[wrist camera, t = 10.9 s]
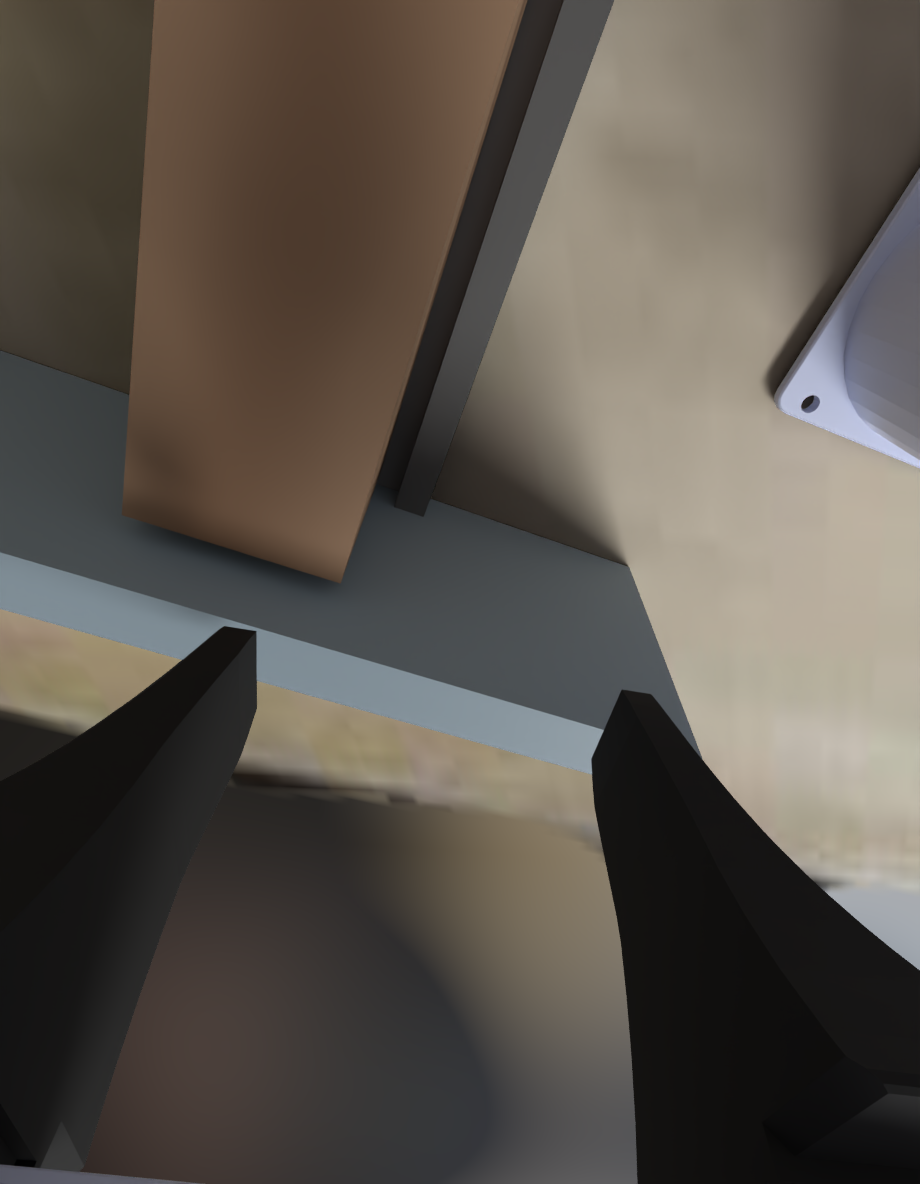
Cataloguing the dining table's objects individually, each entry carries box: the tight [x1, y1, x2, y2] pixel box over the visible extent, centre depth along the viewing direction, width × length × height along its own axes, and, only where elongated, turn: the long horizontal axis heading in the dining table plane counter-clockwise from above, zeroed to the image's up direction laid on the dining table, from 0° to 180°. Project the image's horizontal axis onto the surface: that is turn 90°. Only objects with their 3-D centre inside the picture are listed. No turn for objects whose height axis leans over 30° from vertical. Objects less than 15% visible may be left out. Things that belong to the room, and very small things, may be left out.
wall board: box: [0, 0, 702, 774], centre depth 13 cm, size 24×18×9 cm
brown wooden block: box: [122, 0, 528, 584], centre depth 13 cm, size 5×14×7 cm, turn 160°
